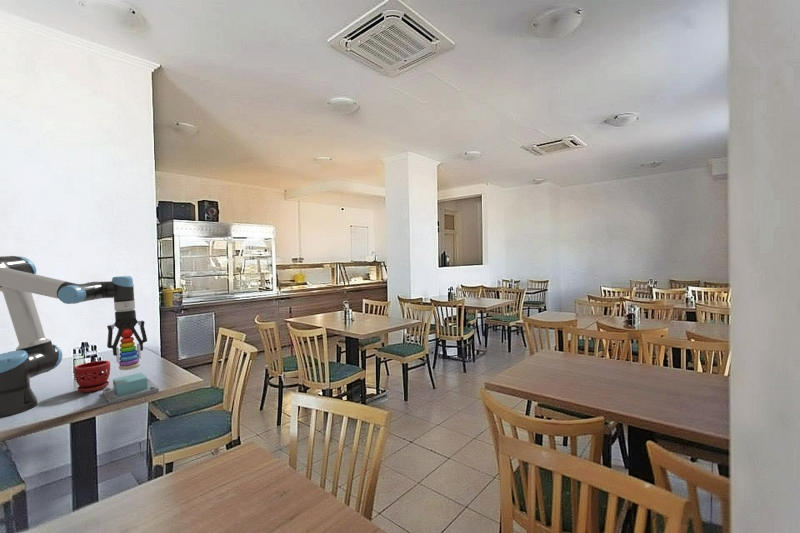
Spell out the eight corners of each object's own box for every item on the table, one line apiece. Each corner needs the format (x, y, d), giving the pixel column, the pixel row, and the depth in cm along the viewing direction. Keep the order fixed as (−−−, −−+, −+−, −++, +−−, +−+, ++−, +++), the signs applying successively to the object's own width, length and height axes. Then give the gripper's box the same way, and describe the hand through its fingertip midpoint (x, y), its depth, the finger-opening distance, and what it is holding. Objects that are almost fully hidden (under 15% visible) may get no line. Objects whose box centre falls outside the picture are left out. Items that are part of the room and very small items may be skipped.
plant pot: (114, 387, 178) (113, 362, 177) (79, 396, 168) (77, 370, 167) (107, 381, 186) (106, 357, 186) (73, 389, 176) (71, 364, 175)
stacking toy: (144, 365, 174) (141, 325, 172) (130, 370, 166) (127, 329, 165) (129, 365, 174) (125, 325, 173) (114, 371, 166) (110, 329, 165)
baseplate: (109, 403, 158) (108, 388, 158) (103, 393, 171) (102, 379, 170) (158, 391, 171) (157, 377, 170) (149, 382, 183) (148, 369, 183)
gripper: (97, 314, 159) (102, 367, 160) (153, 307, 173) (156, 356, 174) (95, 312, 164) (99, 364, 165) (149, 306, 178) (152, 353, 180)
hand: (129, 360), depth 170 cm, fingers closed on stacking toy, 7 cm apart
